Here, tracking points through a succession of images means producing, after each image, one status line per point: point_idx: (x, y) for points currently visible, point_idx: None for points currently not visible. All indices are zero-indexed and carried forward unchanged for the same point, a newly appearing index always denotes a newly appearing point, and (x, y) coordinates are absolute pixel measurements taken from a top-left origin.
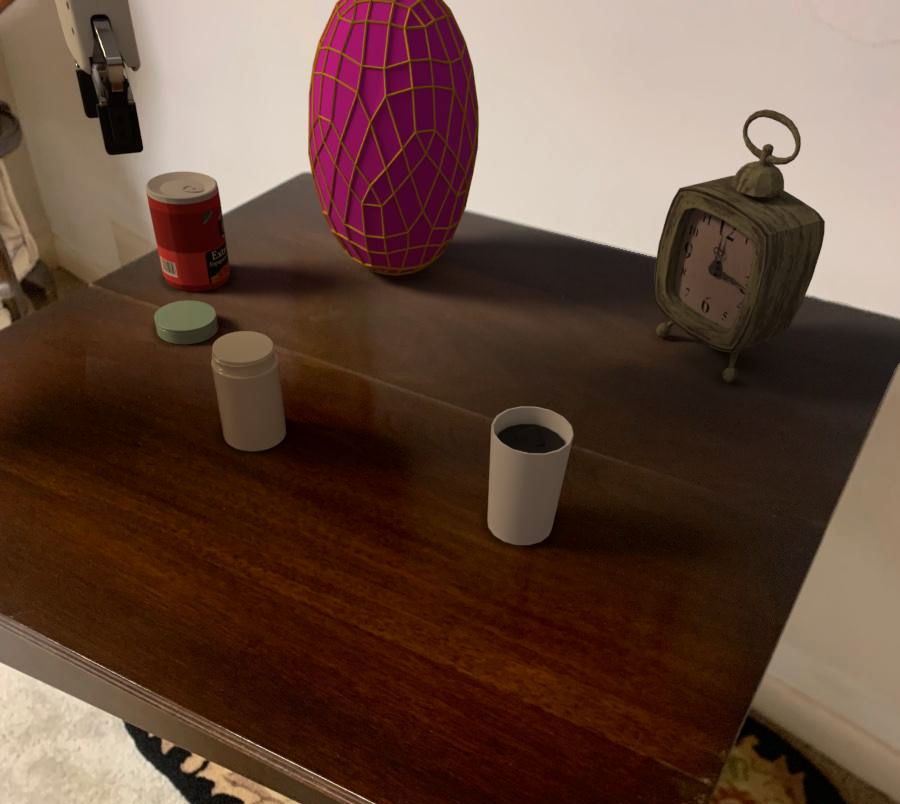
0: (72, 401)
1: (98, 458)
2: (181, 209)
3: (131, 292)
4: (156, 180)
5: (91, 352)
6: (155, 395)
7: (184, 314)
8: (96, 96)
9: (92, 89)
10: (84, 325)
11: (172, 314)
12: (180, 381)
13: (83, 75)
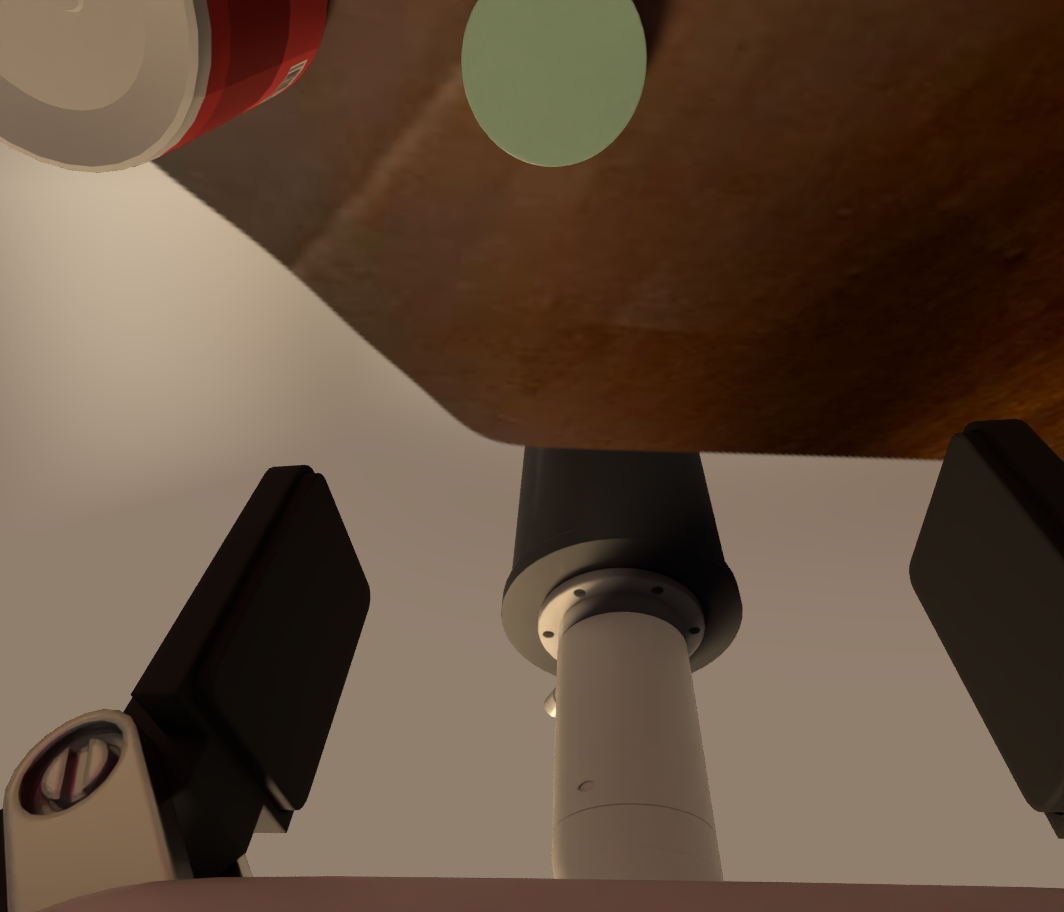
0: (776, 361)
1: (1004, 333)
2: (222, 26)
3: (321, 198)
4: (5, 117)
5: (598, 314)
6: (845, 196)
7: (548, 70)
8: (319, 636)
9: (310, 682)
10: (474, 319)
11: (539, 109)
12: (816, 124)
13: (298, 789)
